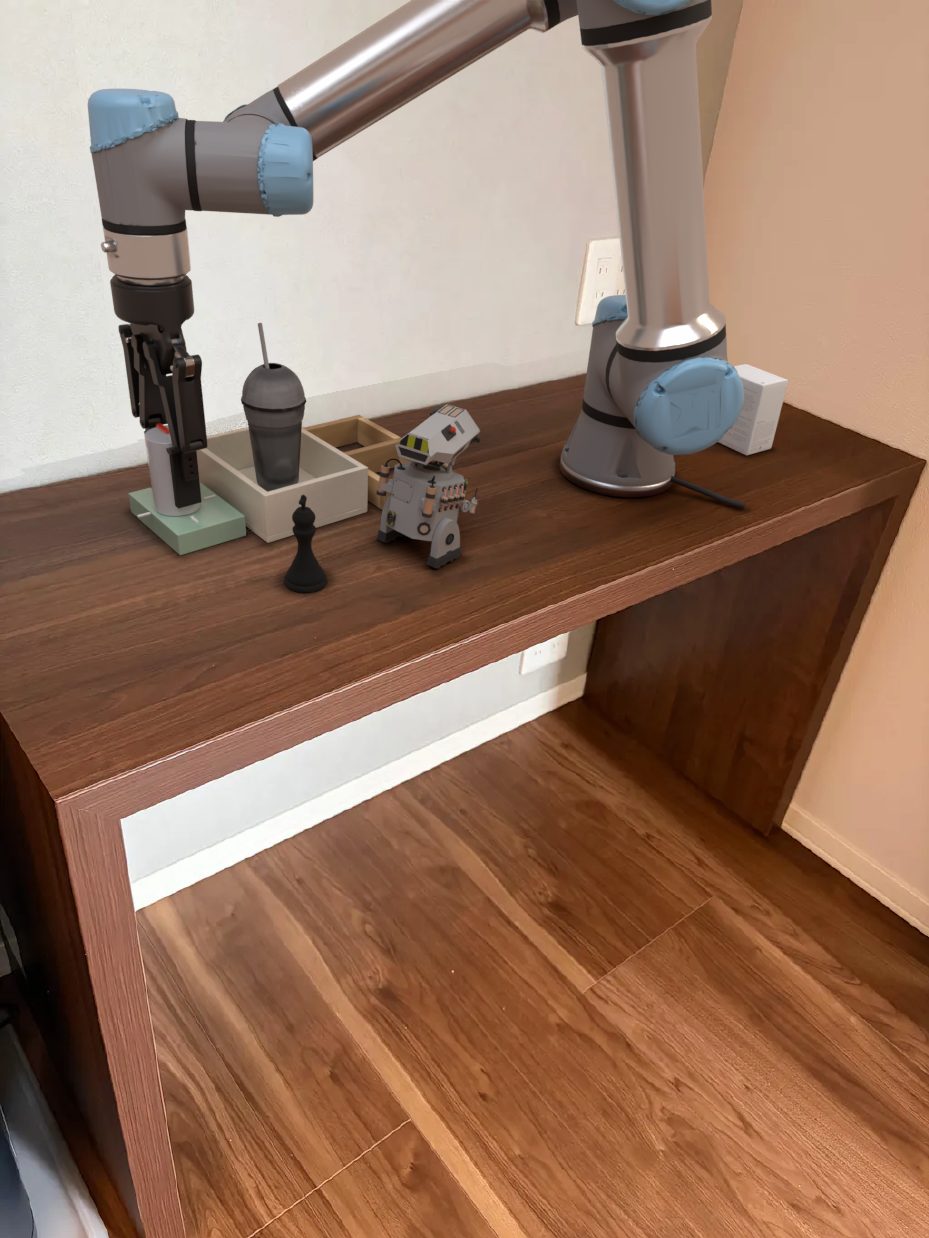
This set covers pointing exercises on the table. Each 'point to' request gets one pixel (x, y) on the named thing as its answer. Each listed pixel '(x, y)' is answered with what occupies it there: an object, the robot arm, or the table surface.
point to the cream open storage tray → (322, 479)
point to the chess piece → (304, 554)
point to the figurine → (429, 484)
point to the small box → (756, 411)
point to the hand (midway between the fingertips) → (176, 493)
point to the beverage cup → (274, 421)
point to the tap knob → (163, 472)
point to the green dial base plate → (191, 521)
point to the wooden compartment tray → (372, 455)
